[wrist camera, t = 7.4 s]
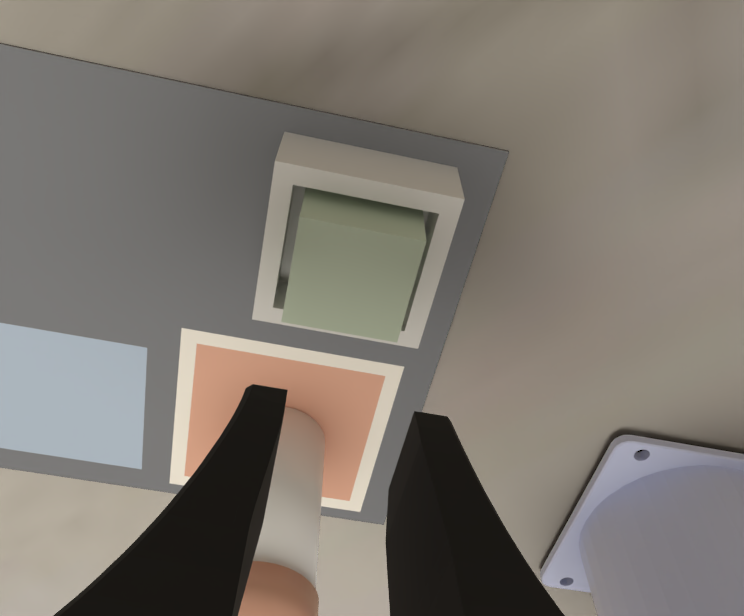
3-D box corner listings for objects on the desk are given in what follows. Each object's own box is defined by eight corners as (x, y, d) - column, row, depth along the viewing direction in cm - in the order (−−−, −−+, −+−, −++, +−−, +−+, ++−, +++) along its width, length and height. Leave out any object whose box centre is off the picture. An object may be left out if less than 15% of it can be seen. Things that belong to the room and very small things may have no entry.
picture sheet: (503, 138, 19) (509, 152, 18) (383, 503, 27) (383, 524, 27) (-74, 15, 18) (-96, 23, 17) (-19, 442, 26) (-32, 462, 25)
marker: (336, 412, 23) (326, 623, 17) (318, 481, 25) (303, 694, 19) (233, 396, 23) (185, 607, 17) (223, 467, 25) (176, 680, 19)
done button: (422, 207, 18) (426, 241, 16) (395, 304, 20) (397, 342, 18) (306, 184, 18) (299, 216, 16) (288, 284, 19) (281, 321, 18)
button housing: (457, 167, 19) (464, 199, 17) (414, 308, 21) (418, 348, 19) (284, 131, 18) (275, 160, 16) (262, 280, 21) (251, 319, 19)
